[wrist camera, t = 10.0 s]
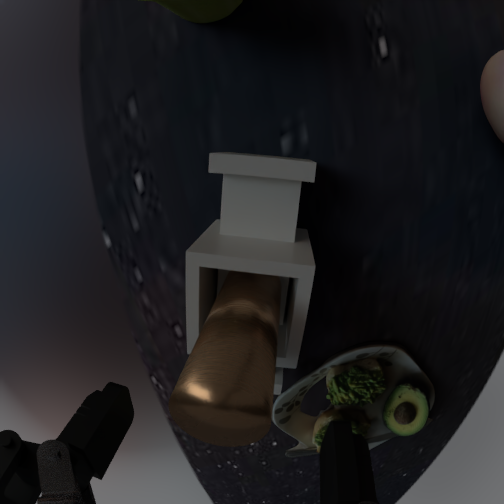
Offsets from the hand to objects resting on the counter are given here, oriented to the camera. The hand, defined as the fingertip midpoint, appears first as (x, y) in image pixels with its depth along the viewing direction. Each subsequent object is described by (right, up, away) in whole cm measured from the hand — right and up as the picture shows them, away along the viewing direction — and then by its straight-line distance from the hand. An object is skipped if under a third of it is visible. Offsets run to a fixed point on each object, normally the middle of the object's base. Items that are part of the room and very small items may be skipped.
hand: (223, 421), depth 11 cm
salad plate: (+13, -10, +20) cm, 26 cm away
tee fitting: (+2, +5, +15) cm, 16 cm away
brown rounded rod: (+1, +4, +11) cm, 12 cm away
